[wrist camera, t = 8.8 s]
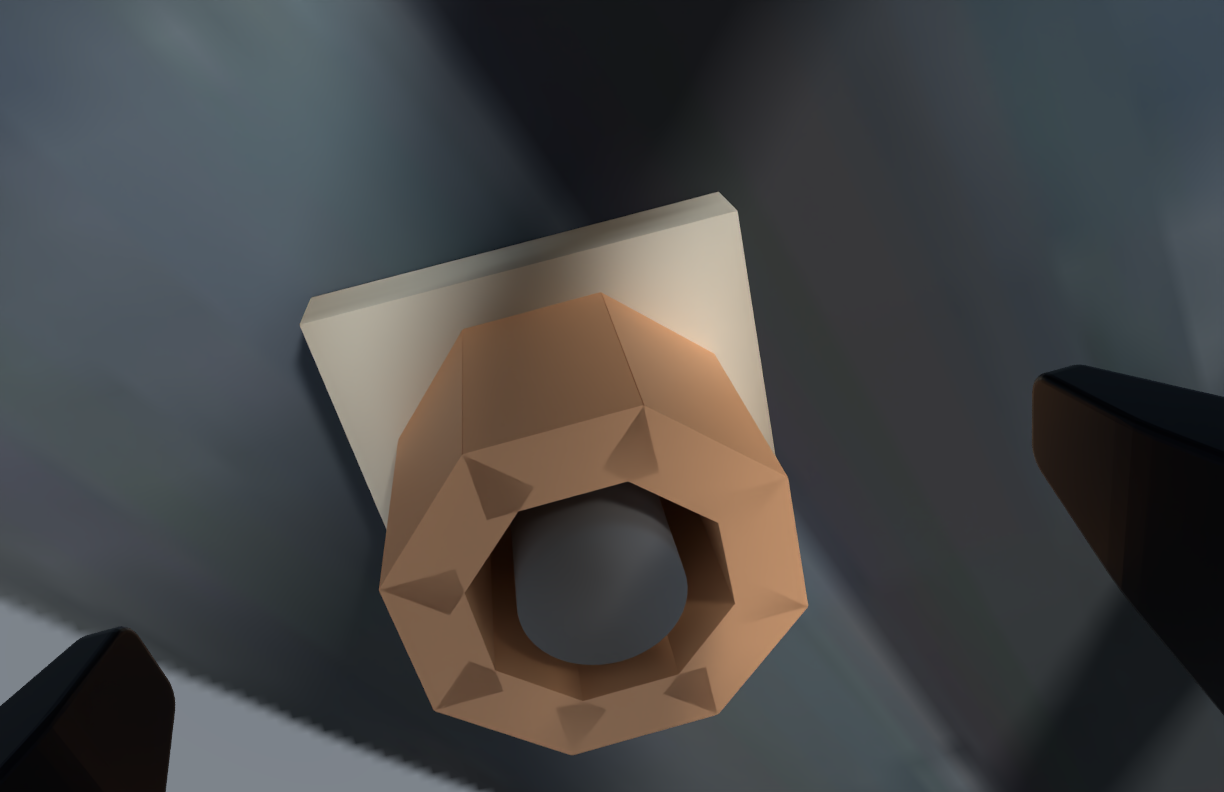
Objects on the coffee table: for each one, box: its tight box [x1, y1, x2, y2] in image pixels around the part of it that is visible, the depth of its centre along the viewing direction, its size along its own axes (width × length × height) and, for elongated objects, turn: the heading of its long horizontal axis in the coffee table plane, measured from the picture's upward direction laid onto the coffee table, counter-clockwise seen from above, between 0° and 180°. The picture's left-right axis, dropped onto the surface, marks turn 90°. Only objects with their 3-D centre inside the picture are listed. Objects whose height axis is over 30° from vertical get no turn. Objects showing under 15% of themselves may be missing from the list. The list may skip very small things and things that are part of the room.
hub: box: [379, 292, 808, 755], centre depth 18 cm, size 7×7×5 cm
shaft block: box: [300, 192, 775, 665], centre depth 19 cm, size 9×9×6 cm
